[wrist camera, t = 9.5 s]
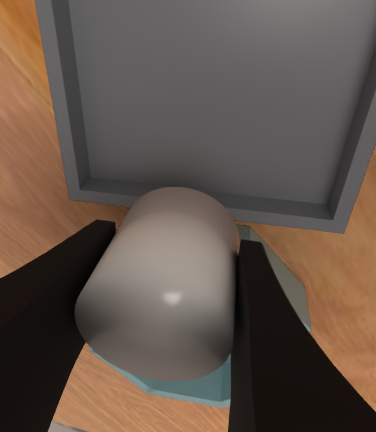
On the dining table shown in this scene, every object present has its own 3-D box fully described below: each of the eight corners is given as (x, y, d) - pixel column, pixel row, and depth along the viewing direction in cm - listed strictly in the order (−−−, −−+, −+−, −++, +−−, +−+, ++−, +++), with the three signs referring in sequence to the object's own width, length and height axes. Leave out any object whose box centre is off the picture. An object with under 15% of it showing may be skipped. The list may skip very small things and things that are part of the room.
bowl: (319, 234, 20) (330, 276, 17) (277, 373, 27) (279, 418, 24) (95, 206, 21) (69, 240, 18) (112, 344, 28) (96, 384, 26)
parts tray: (495, -276, 10) (545, -333, 8) (336, 212, 19) (343, 233, 17) (22, -256, 11) (-18, -300, 10) (84, 183, 20) (69, 200, 19)
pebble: (247, 194, 10) (243, 286, 7) (232, 288, 13) (223, 392, 9) (121, 179, 11) (63, 259, 8) (127, 273, 13) (84, 366, 10)
